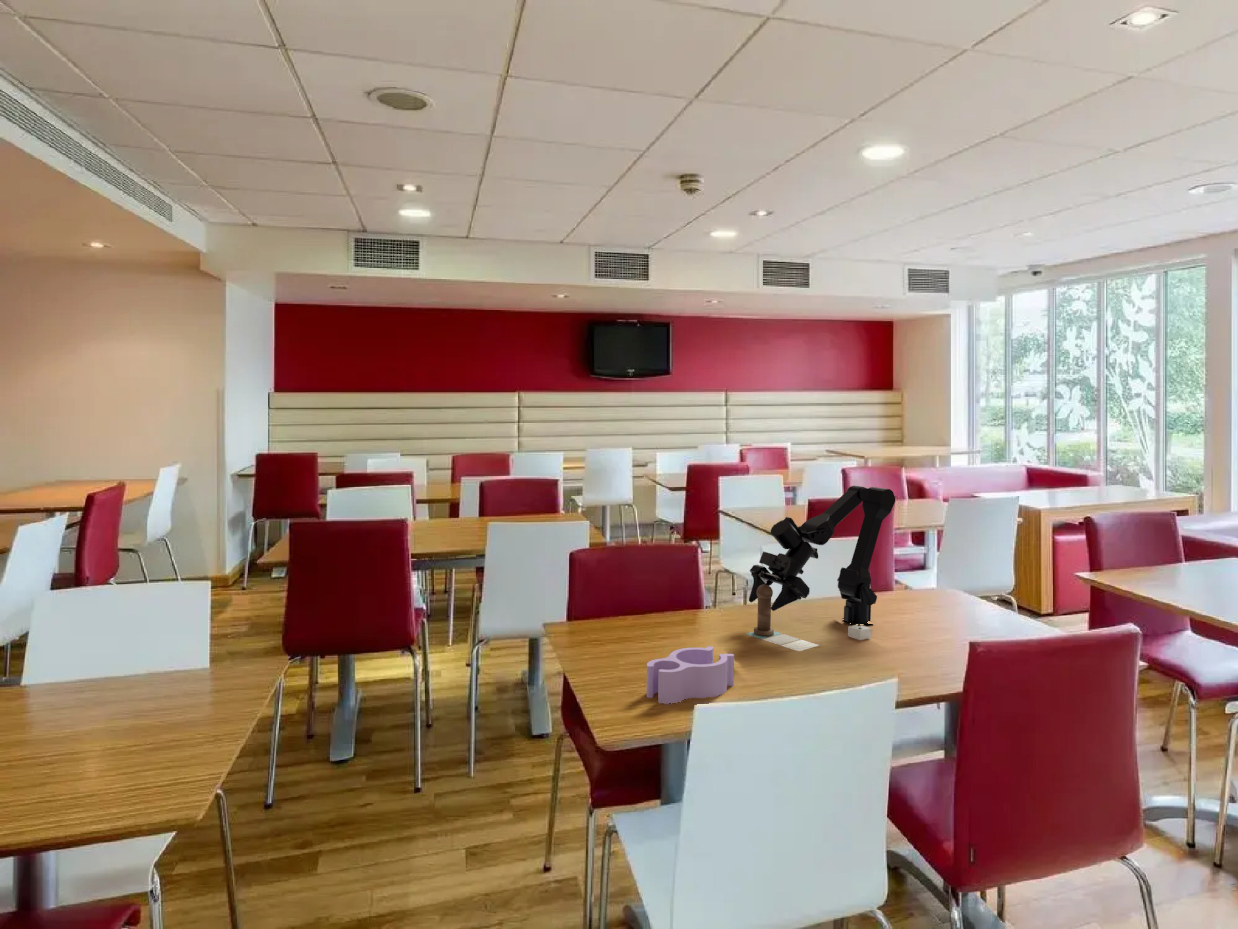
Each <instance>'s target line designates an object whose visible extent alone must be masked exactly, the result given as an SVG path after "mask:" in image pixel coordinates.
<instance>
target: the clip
mask: <svg viewBox="0 0 1238 929" xmlns="http://www.w3.org/2000/svg"><path fill="white" fill-rule="evenodd" d="M734 680H735V654H734V653H720V654H719V655H718V661H716V662H714V646H713V645H711V646H710V645H707V646H706V647H684V648H679V649H675V650H674V651H671V652H670V654H669V655H668V656H666V657H663V658H656V659H652V660H649V661H648V662H647V663H646V698H648V699H651V698H654V696H655V694H658V695H657V698H658V700H657V703H658V702H659V703H658V704H660V703H664V704H663V705H673V704H672V703H676V704H678V703H677V702H680V701H682V700H684V699H686V700H688V698H689V699H707V698H706V697H711V698H715V697H720V696H722V695H724V694H725V693H726V692H727V690H728V687H734V686H735V685H734V684H735V683H734V682H735V681H734ZM723 693H724V694H723ZM721 694H722V695H721ZM719 695H720V696H719ZM684 701H685V700H684ZM682 702H683V701H682ZM669 703H671V704H669ZM680 703H681V702H680Z"/></svg>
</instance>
